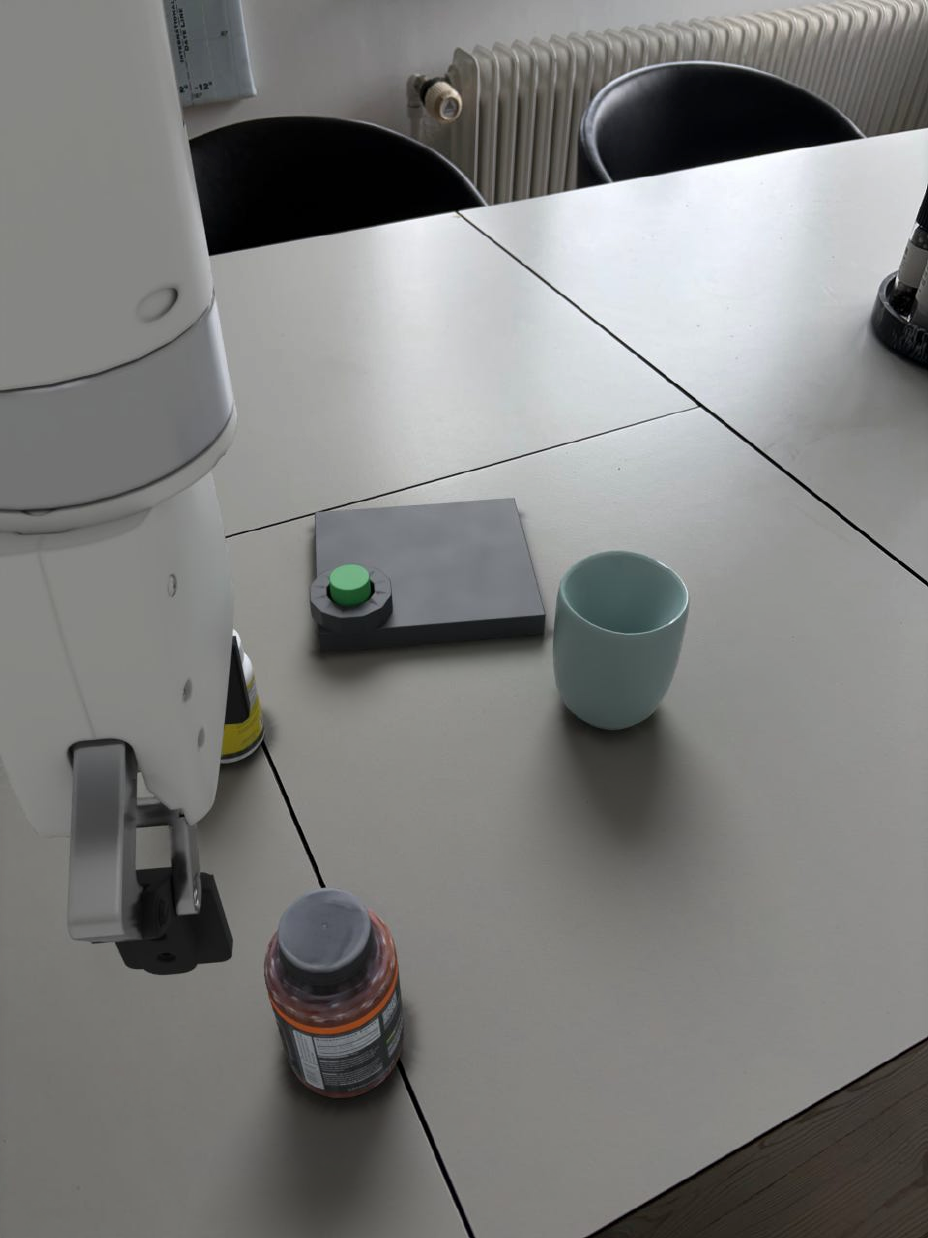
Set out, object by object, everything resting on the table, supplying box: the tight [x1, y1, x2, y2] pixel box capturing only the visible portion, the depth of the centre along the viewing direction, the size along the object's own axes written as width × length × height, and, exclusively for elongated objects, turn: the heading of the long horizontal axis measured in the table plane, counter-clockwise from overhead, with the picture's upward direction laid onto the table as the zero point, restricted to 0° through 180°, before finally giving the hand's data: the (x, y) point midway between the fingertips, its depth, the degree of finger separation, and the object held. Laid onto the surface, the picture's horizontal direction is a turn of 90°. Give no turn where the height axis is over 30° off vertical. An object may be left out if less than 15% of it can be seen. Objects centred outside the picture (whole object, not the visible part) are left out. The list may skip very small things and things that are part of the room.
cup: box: [552, 550, 691, 731], centre depth 64 cm, size 8×8×10 cm
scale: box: [309, 497, 547, 654], centre depth 75 cm, size 16×14×4 cm
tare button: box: [329, 564, 371, 606], centre depth 70 cm, size 3×3×2 cm
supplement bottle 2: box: [263, 887, 405, 1099], centre depth 46 cm, size 6×6×11 cm
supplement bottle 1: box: [220, 628, 265, 764], centre depth 62 cm, size 5×5×8 cm
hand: (196, 826), depth 34 cm, fingers open, 9 cm apart
